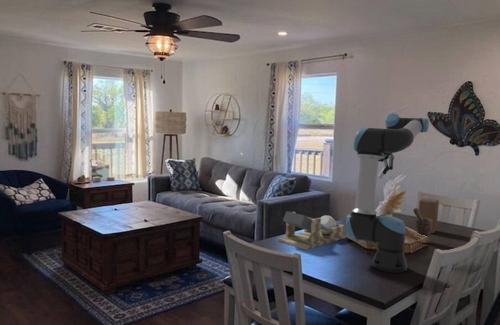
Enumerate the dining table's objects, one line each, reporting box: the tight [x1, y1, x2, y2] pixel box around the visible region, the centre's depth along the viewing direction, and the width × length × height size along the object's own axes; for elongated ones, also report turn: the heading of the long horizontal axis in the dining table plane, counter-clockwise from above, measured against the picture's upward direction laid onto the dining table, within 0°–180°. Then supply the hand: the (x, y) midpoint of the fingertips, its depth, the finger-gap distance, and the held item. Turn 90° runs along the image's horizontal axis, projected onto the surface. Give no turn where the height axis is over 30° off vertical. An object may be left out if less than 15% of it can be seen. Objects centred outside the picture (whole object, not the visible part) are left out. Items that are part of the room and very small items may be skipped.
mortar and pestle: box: [412, 207, 433, 242], centre depth 231 cm, size 12×9×20 cm
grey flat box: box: [282, 210, 329, 231], centre depth 228 cm, size 24×16×7 cm, turn 133°
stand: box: [277, 211, 346, 251], centre depth 232 cm, size 35×20×15 cm, turn 133°
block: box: [417, 198, 440, 234], centre depth 257 cm, size 10×10×20 cm
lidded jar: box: [320, 215, 338, 235], centre depth 238 cm, size 11×11×9 cm
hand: (369, 176), depth 225 cm, fingers open, 13 cm apart
